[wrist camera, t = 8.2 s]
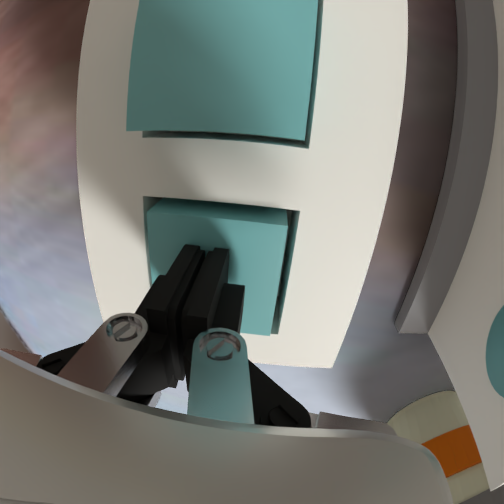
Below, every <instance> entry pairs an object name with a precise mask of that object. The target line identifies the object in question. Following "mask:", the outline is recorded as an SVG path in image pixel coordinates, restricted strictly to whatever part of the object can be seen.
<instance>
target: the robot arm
mask: <svg viewBox="0 0 504 504" xmlns="http://www.w3.org/2000/svg"><path fill="white" fill-rule="evenodd" d="M229 252H230V250H229V249H225V248H216V247H215V248H214V250H213V251H208V253H207V255H206V257H205V250H200V246H198V245H189V244H185V245H184V246H183V248H182V249H181V251H180V253H179V254H178V256H177V257H176V259H175V261H174V262H173V264H172V265H171V267H170V269H169V270H168V272H167V274H166V275H159V276H158V277H157V278H156V280H155V281H154V283H153V284H152V286H151V288H150V289H149V291H148V292H147V294H146V296H145V297H144V299H143V300H142V302H141V304H140V305H139V307H138V308H137V310H136V312H135V313H120V314H116V315H114V316H111V317H110V318H108V319H107V320H106V321H105V322H104V323H103V324H102V325H101V326H100V327H99V328H98V329H97V330H96V332H95V333H94V334H93V335H92V336H91V337H90V338H89V339H88V340H87V341H86V342H84V343H81V344H78V345H76V346H73V347H70V348H67V349H64V350H61V351H58V352H55V353H52V354H49V355H47V356H45V357H44V358H43V357H42V356H41V355H37V354H31V353H25V352H20V351H14V350H9V349H0V504H454V503H453V499H452V495H451V492H450V488H449V485H448V482H447V479H446V477H445V474H444V472H443V469H442V467H441V465H440V463H439V461H438V460H437V458H436V457H435V455H434V454H433V453H432V452H431V451H430V450H429V449H427V448H426V447H424V446H423V445H421V444H419V443H417V442H414V441H411V440H409V439H406V438H402V437H398V436H397V434H396V432H395V431H394V429H393V428H392V427H391V426H389V425H388V424H386V423H383V422H379V421H371V420H365V419H358V418H352V417H346V416H341V415H335V414H330V413H325V412H320V413H319V415H318V414H313V413H309V412H308V411H307V410H306V409H305V408H304V407H303V405H301V404H300V403H299V402H298V401H296V400H295V399H294V398H293V397H292V396H290V395H289V394H288V393H287V392H286V391H284V390H283V389H282V388H281V387H280V386H278V385H277V384H276V383H275V382H274V381H273V380H271V379H270V378H269V377H268V376H267V375H266V374H265V373H263V372H262V371H261V370H260V369H259V368H258V367H257V366H255V365H254V364H253V363H252V362H251V361H250V360H249V359H248V354H247V345H246V342H245V340H244V338H243V337H242V336H241V335H240V329H241V323H242V315H243V306H244V296H245V285H238V284H229V283H228V270H229ZM185 374H186V383H187V390H188V392H189V397H188V411H187V415H186V414H181V413H177V412H172V411H167V410H163V409H159V408H155V406H156V404H157V403H158V401H159V399H160V396H161V390H163V389H165V388H167V387H172V388H176V386H177V383H178V380H182V381H183V380H184V377H185Z"/></svg>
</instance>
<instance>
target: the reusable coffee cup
mask: <svg viewBox="0 0 504 504" xmlns="http://www.w3.org/2000/svg"><path fill="white" fill-rule="evenodd" d="M387 424H388V425H389V426H391V427H392V428H393V429H394V431H395V432H396V434H397V436H398V437H402V438H406V439H409V440H411V441H414V442H417V443H419V444H421V445H423V446H424V447H426V448H427V449H429V450H430V451H431V452H432V453H433V454H434V455H435V457H436V458H437V460H438V461H439V463H440V465H441V467H442V469H443V472H444V474H445V477H446V479H447V482H448V485H449V488H450V492H451V495H452V499H453V503H454V504H504V484H503V485H502V486H500V487H498V488H496V489H494V490H493V491H491V492H490V488H489V484H488V480H487V477H486V473H485V470H484V466H483V463H482V460H481V457H480V454H479V451H478V448H477V445H476V442H475V439H474V436H473V433H472V431H471V428H470V425H469V423H468V420H467V417H466V415H465V412H464V410H463V408H462V405H461V403H460V400H459V398H458V396H457V393H456V392H455V391H442V392H437V393H434V394H431V395H428V396H426V397H423V398H421V399H419V400H417V401H415V402H413V403H411V404H409V405H408V406H406V407H404V408H403V409H402V410H400V411H399V412H397V413H396V414H395V415H394V416H393V417H392V418H391V419H390V420H389V421H388V422H387Z"/></svg>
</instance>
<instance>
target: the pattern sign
mask: <svg viewBox="0 0 504 504" xmlns="http://www.w3.org/2000/svg"><path fill="white" fill-rule="evenodd" d="M455 3H456V15H457V35H458V65H457V86H456V99H455V109H454V118H453V125H452V132H451V139H450V145H449V151H448V157H447V162H446V167H445V172H444V176H443V181H442V185H441V189H440V194H439V198H438V202H437V205H436V209H435V213H434V216H433V220H432V223H431V227H430V230H429V233H428V237H427V240H426V243H425V246H424V249H423V252H422V255H421V258H420V261H419V263H418V266H417V269H416V272H415V274H414V277H413V280H412V282H411V285H410V287H409V290H408V292H407V295H406V297H405V300H404V302H403V305H402V307H401V309H400V311H399V314H398V316H397V318H396V320H395V323H394V324H395V326H396V328H397V331H398V333H413V334H428V335H429V337H430V339H431V341H432V343H433V345H434V347H435V349H436V351H437V353H438V355H439V357H440V359H441V361H442V363H443V365H444V367H445V369H446V371H447V373H448V375H449V378H450V380H451V382H452V384H453V386H454V389H455V391H456V393H457V396H458V398H459V400H460V403H461V405H462V408H463V410H464V412H465V415H466V417H467V420H468V423H469V425H470V428H471V431H472V433H473V436H474V439H475V442H476V445H477V448H478V451H479V454H480V457H481V460H482V463H483V466H484V470H485V473H486V477H487V480H488V484H489V488H490V492H491V491H493V490H494V489H496V488H498V487H500V486H502V485H503V484H504V0H455Z"/></svg>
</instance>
